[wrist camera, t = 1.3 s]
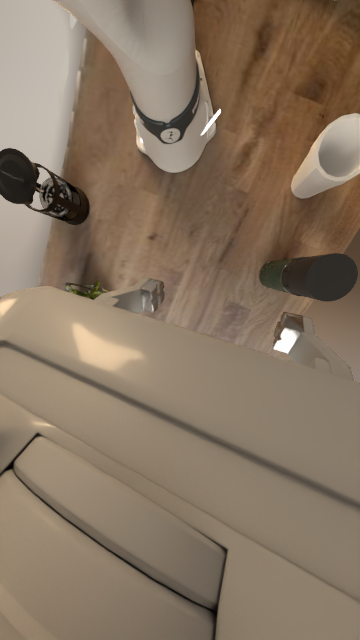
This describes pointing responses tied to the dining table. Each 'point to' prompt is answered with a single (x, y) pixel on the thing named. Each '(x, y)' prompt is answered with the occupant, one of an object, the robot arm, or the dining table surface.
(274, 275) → the thermos
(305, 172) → the foam cup
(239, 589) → the robot arm
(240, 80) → the dining table surface
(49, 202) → the french press
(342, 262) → the lid
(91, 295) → the passion flower
